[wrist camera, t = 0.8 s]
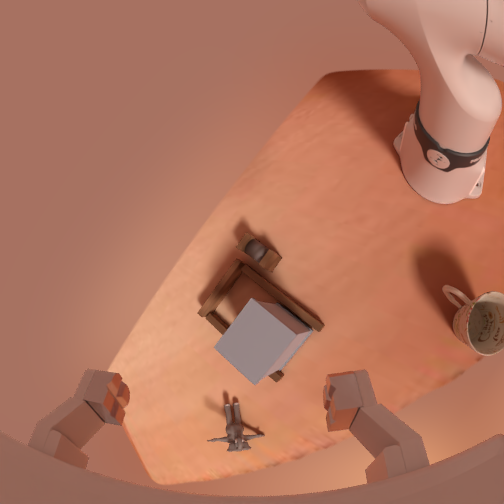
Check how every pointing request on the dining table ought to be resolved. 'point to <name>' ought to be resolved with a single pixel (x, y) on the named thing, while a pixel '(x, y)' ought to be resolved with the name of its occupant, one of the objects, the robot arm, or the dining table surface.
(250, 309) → the gray rectangular block
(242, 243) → the bay
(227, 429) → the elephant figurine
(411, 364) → the dining table surface
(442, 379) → the dining table surface
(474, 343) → the mug
